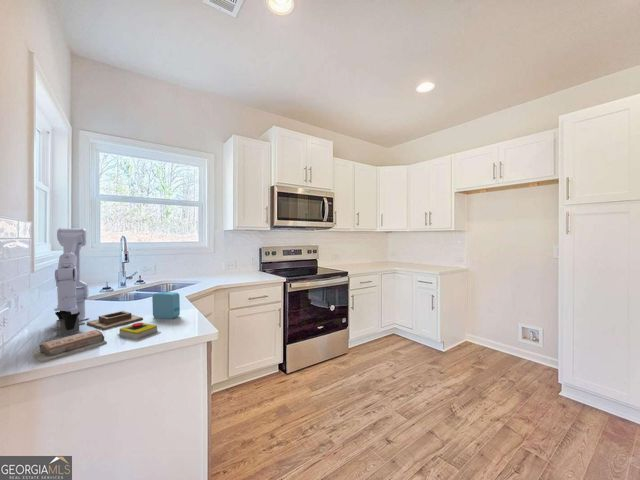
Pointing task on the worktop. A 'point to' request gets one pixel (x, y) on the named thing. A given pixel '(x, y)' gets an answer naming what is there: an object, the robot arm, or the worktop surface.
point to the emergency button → (139, 331)
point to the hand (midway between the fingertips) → (68, 328)
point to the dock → (114, 320)
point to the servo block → (62, 327)
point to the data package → (166, 305)
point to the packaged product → (69, 345)
